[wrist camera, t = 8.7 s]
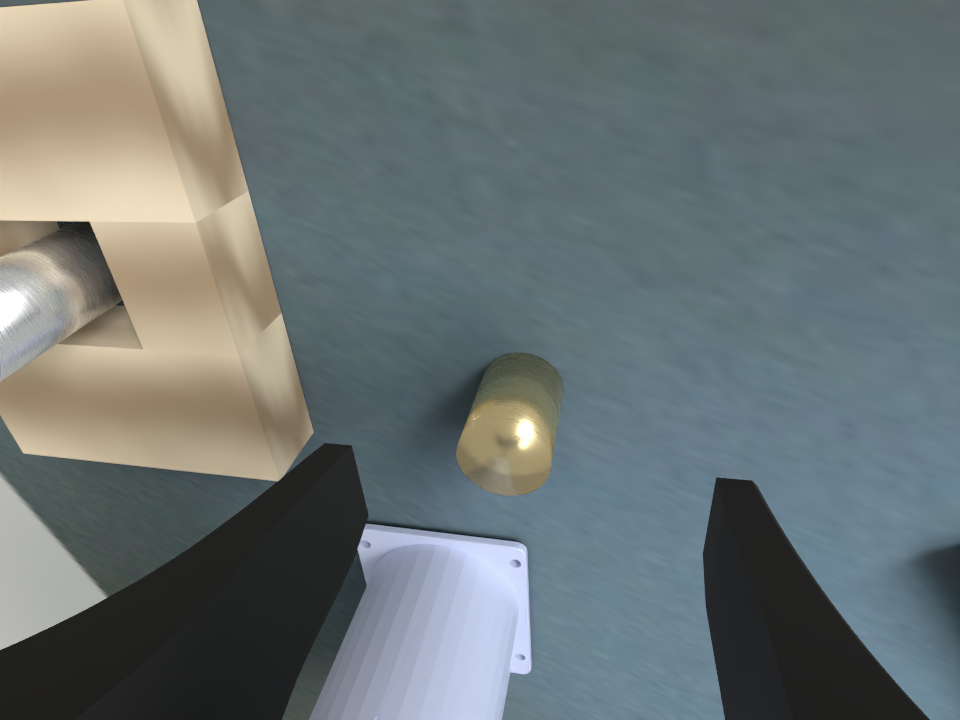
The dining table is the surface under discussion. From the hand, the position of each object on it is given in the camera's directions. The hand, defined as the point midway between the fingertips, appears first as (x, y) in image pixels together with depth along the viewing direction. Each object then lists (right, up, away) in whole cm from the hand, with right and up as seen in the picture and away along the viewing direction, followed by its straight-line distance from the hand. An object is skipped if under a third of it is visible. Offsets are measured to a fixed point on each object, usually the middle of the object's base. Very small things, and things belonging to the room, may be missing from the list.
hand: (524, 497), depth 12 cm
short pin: (+1, +2, +10) cm, 10 cm away
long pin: (-14, +7, +11) cm, 19 cm away
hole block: (-14, +7, +11) cm, 19 cm away
